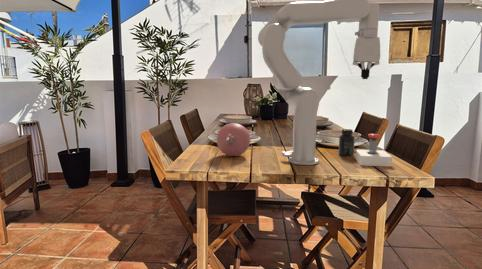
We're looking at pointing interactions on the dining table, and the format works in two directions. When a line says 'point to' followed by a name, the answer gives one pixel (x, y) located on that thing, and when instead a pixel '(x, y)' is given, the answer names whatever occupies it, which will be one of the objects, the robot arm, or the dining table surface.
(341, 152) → the supplement bottle
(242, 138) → the pink rounded piece
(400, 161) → the dining table surface
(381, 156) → the socket block
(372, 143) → the red topped grey cylinder
